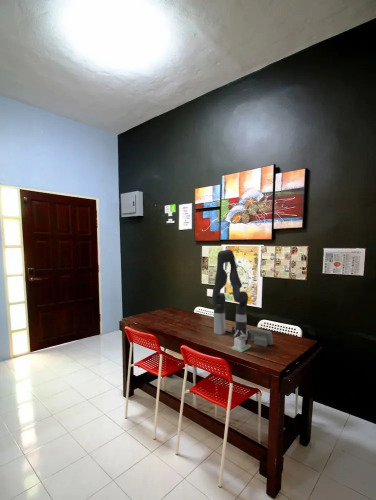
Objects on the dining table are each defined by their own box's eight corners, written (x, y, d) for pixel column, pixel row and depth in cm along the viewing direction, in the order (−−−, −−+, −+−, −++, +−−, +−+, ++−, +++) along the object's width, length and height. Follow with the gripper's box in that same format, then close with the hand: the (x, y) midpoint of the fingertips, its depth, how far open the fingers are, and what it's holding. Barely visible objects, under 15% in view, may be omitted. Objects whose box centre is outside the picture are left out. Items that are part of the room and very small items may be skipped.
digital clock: (274, 345, 175) (274, 330, 175) (268, 348, 169) (268, 333, 169) (254, 339, 187) (254, 325, 187) (248, 342, 181) (248, 328, 181)
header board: (240, 344, 177) (240, 335, 177) (250, 347, 171) (250, 338, 171) (231, 349, 168) (231, 339, 168) (241, 352, 163) (241, 342, 163)
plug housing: (241, 343, 175) (241, 333, 175) (247, 344, 172) (247, 335, 172) (234, 347, 168) (234, 337, 168) (240, 349, 165) (240, 339, 164)
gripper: (252, 320, 168) (253, 344, 168) (235, 317, 178) (235, 339, 178) (247, 323, 162) (247, 347, 162) (229, 319, 172) (229, 341, 172)
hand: (241, 342), depth 170 cm, fingers open, 8 cm apart
